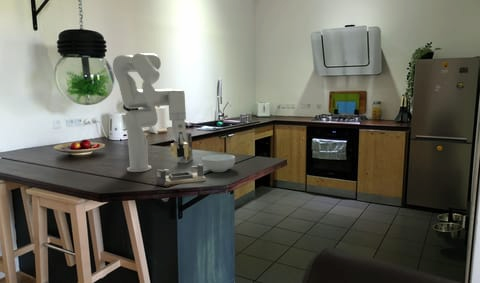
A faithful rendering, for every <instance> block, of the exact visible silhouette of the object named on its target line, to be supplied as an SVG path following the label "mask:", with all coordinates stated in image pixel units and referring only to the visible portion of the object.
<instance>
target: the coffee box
mask: <svg viewBox="0 0 480 283" xmlns="http://www.w3.org/2000/svg"><path fill="white" fill-rule="evenodd" d="M186 137H187V141H184V140H183V142H186V143H188V156H187V157H177V163H179V164H180V163H183V164H184V163H186V164H187V163H190V162H191V161H192V160H194V157H193V155H194V154H193V140H192V138H193V137H192V132H186Z"/></svg>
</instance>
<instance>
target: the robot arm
mask: <svg viewBox="0 0 480 283" xmlns="http://www.w3.org/2000/svg"><path fill="white" fill-rule="evenodd" d="M112 61H113V62H112V71H113V74H114V77H115V79H116V81H117V83H118V87H119V92H120V95H121V99H122V103H123V105H124V107H125V108H127V109H135V110H129V111H127V112H126V113H125V114H124V118H123V120H124V124H125V127H126V133H127V144H128V158H129V167H126V170H127V172H131V173H142V172H147V171H150V170H152V165H149V155H148V140H147V134H146V133H145V131H144V130H143V129H144V128H152V127H155V126H156V125H157V123H158V113H157V108H156V107H163V106H164V107H165V106H168V118H169V121H171V134H172V139H173V141H174V143H177V147H178V148H177V158H178V157H184V156H185V154H184V142H183V140H184V141H187V137H186V133H187V127H186V120H187V112H186V111H187V110H186V97H185V96H186V95H185V91H184V89H180V88H179V89H178V88H177V89H172V88H169V89H168V88H165V89H163V88H161V89H155V87H154V86H153V85H154V84H155V83H157V82H158V80H160V76H161V74H160V72H159V69H160V68H161V66H162V65H161V64H162V63H161V59H160V57H159V56H158V55H157V54H156V53H145V52H143V53H142V52H139V53H135V54H134V55H132V54H123V55H122V54H121V55H117V56H116V57H114V59H113V60H112ZM130 73H137V74H138V75H139V77H140V79H141V80H142V82H141V83H142V85H141V89H138V86H137V83H136V80H135V78H134V77H133V76H132V75H131V74H130ZM141 108H142V109H141Z"/></svg>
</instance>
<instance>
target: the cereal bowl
mask: <svg viewBox="0 0 480 283" xmlns="http://www.w3.org/2000/svg"><path fill="white" fill-rule="evenodd" d="M201 161H202V162H201V163H202V165H203V168H205V169H207V170H209V171H211V172H213V173H224V172H226V171H228V170H229V169H232V167H233V166H234V165H235V163H236V156H235V155H232V154H211V155H206V156H202V159H201Z"/></svg>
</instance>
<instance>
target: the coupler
mask: <svg viewBox="0 0 480 283" xmlns="http://www.w3.org/2000/svg"><path fill="white" fill-rule="evenodd" d="M177 148H178V147H177V143H175V142H173V143H170V152H171V157H172V158H173V159H174V158H175V159H176V158H177V159H178V157H177ZM184 154H185V156H184V157H187V156H188V143H186V142H184Z"/></svg>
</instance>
